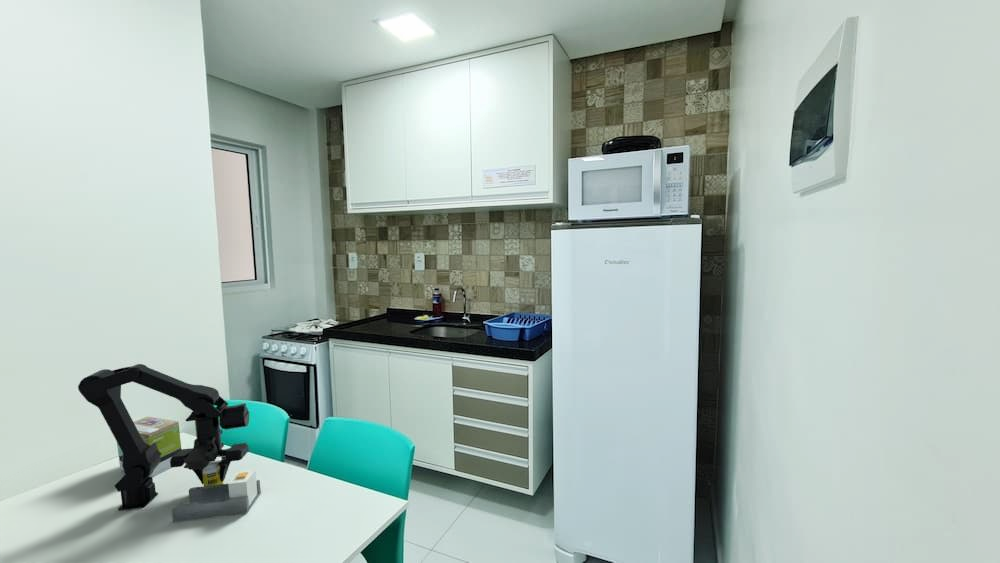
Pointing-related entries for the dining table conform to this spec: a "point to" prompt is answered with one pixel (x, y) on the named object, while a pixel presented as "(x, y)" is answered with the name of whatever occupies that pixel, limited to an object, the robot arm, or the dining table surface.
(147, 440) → the tea box
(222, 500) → the grey tray
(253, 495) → the seated module
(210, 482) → the supplement bottle
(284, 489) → the dining table surface
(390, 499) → the dining table surface
